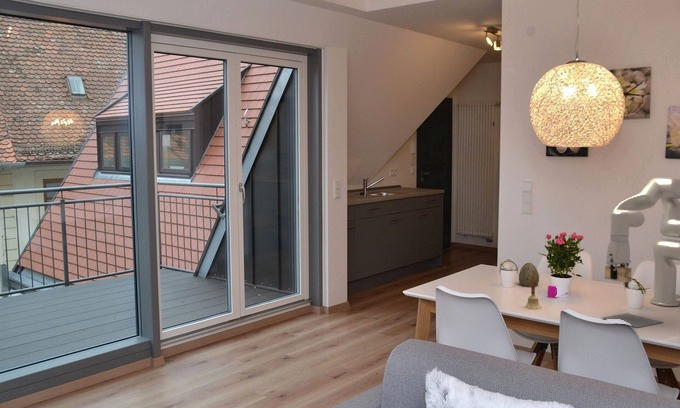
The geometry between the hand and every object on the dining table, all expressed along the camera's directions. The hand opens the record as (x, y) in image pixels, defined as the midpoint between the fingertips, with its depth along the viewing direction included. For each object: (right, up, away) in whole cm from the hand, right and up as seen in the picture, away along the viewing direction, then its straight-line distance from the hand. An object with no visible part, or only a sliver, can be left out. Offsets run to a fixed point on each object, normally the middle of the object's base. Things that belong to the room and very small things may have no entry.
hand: (618, 278), depth 279 cm
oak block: (0, -1, 0) cm, 1 cm away
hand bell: (-33, -17, +18) cm, 41 cm away
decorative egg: (-22, -14, +61) cm, 66 cm away
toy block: (-14, -16, +41) cm, 46 cm away
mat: (+3, -18, -6) cm, 19 cm away
